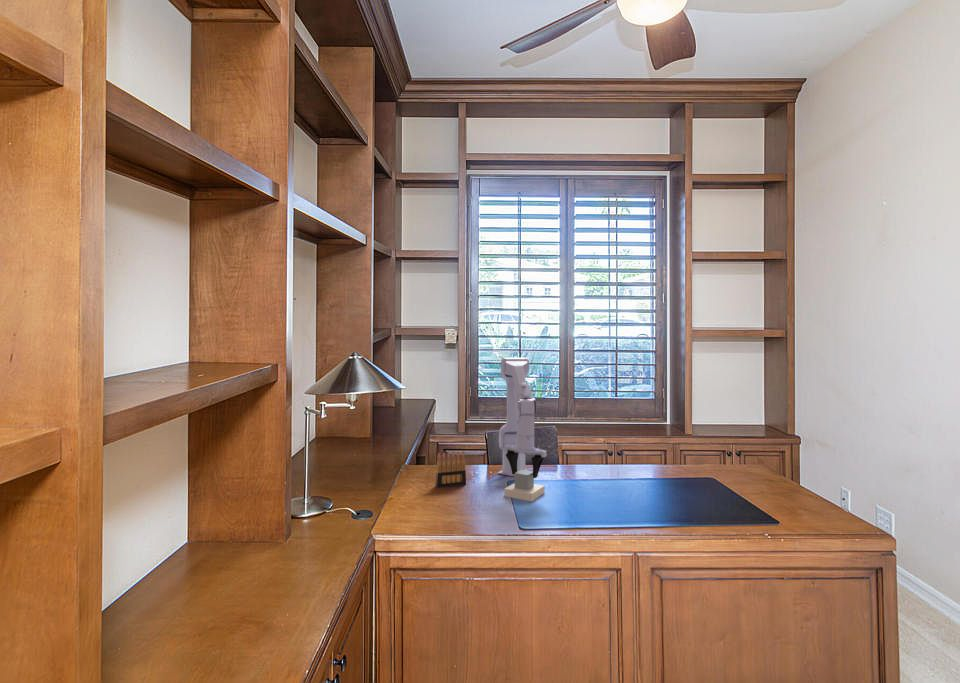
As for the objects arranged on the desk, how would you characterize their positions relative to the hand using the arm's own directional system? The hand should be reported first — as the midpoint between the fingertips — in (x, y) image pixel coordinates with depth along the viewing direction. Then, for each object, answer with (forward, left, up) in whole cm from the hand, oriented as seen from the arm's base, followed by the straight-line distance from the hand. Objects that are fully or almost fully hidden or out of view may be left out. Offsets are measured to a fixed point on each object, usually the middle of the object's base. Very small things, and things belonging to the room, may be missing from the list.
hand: (524, 475), depth 186 cm
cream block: (0, 0, -7) cm, 7 cm away
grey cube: (0, 0, -4) cm, 4 cm away
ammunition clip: (+5, -26, -7) cm, 27 cm away
